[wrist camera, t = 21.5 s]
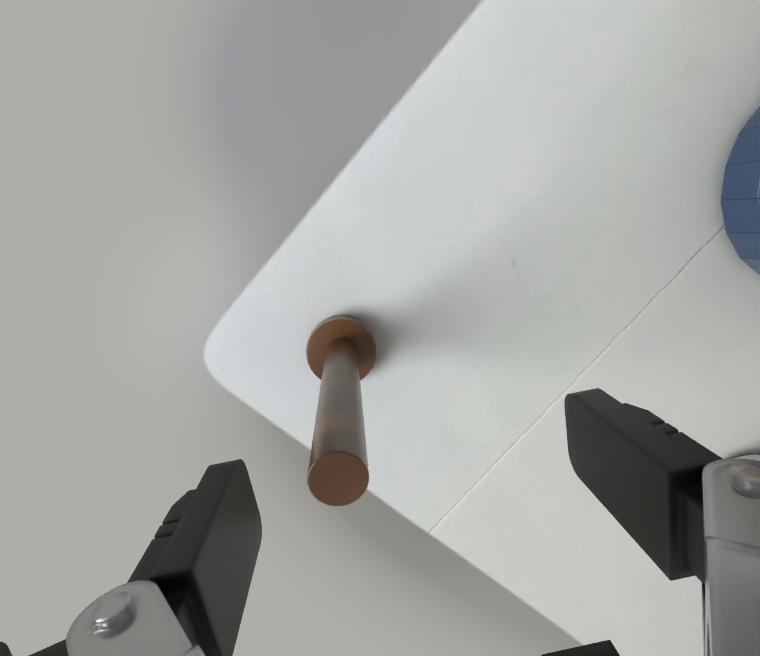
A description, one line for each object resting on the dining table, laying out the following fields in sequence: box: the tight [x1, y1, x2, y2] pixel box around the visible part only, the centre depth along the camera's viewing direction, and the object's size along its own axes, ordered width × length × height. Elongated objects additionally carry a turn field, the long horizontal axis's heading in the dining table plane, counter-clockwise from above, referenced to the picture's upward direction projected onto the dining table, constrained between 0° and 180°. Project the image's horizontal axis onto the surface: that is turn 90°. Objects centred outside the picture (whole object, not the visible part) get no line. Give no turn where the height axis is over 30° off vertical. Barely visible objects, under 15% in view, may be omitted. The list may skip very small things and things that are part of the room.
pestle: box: [306, 316, 376, 506], centre depth 22 cm, size 4×4×16 cm
